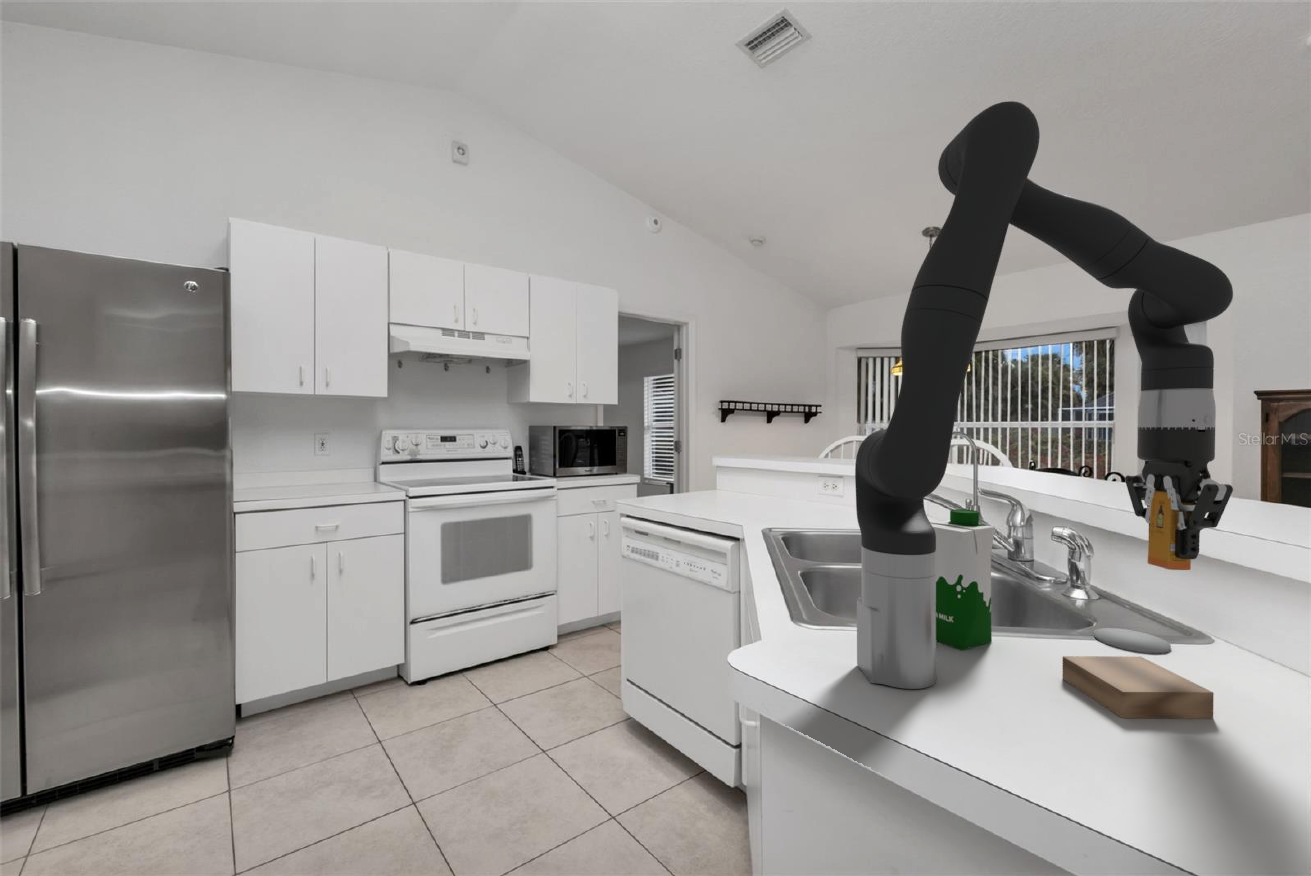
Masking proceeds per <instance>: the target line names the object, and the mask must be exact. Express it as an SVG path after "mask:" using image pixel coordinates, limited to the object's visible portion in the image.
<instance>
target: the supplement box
mask: <svg viewBox="0 0 1311 876" xmlns="http://www.w3.org/2000/svg"><path fill="white" fill-rule="evenodd" d="M1171 495H1172V494H1171ZM1182 504H1183V505H1192V504H1193V502H1192V503H1182ZM1186 514H1187V519H1190V517H1191V516H1190V513H1189V512H1188V511H1187V512H1186ZM1175 530H1179V529H1178V528H1177V526H1176V520H1175V513H1174V512H1173V511H1172V510H1171V498H1170V497H1169V499H1168V494H1167V492H1163V491H1155V493H1154V497H1153V499H1152V501H1151V514H1150V530H1149V529H1148V540H1149V542H1148V548H1147V550H1148V551H1147V564H1149V565H1150V566H1151V565H1152V566H1156V567H1159V568H1163V569H1165V570H1172V571H1190V570H1191V569H1192V567H1191V565H1192V564H1191V563H1192V559H1180V558H1177V557H1176V556H1175Z"/></svg>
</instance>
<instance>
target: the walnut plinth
mask: <svg viewBox="0 0 1311 876" xmlns="http://www.w3.org/2000/svg"><path fill="white" fill-rule="evenodd" d="M1062 680H1064V681H1065V682H1066V683H1068V684H1070V685H1071V686H1073V687H1075V688H1076V689H1077V690H1079V691H1080V692H1083V694H1086V695H1087V696H1088V697H1090V698H1092V699H1093V700H1095V701H1096V702H1097V703H1099V704H1100V705H1102V706H1103V707H1105V708H1107V709H1108V710H1110V711H1111V712H1113V713H1114V714H1116V715H1117V716H1119V717H1121V718H1122V719H1204V720H1205V719H1211V720H1212V719H1213V720H1214V692H1213V691H1211V690H1209V689H1207V688H1205V687H1203V686H1201V685H1199V684H1198V683H1195V682H1193V681H1191V680H1189V679H1187V678H1185V677H1183V676H1181V675H1179V674H1177V673H1175V672H1173V671H1171V670H1169V669H1167V668H1165V667H1163V666H1161V665H1159V664H1156V662H1153V661H1151V660H1148V659H1147V658H1145V657H1142V656H1119V655H1118V656H1115V655H1114V656H1108V655H1107V656H1105V655H1104V656H1099V655H1098V656H1090V655H1089V656H1087V655H1086V656H1085V655H1083V656H1082V655H1081V656H1080V655H1079V656H1075V655H1074V656H1073V655H1072V656H1069V655H1063V656H1062Z"/></svg>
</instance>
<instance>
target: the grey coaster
mask: <svg viewBox="0 0 1311 876" xmlns="http://www.w3.org/2000/svg"><path fill="white" fill-rule="evenodd" d="M1094 636H1096V638H1097V639H1098V640H1097V639H1096V638H1095V639H1096V640H1097V641H1099V642H1100V643H1103V644H1106V645H1108V646H1111V647H1114V648H1116V649H1117V648H1118V649H1121V650H1126V651H1131V652H1137V653H1143V654H1165V653H1169V652H1171V650H1172V645H1171V643H1169V642H1168V641H1167V640H1165V639H1163V638H1161V637H1159V636H1155V635H1152V634H1149V633H1145V632H1141V631H1137V630H1131V629H1125V628H1118V627H1117V628H1115V627H1113V628H1112V627H1105V628H1104V627H1102V628H1097V629H1095V630H1094V631H1093V637H1094Z"/></svg>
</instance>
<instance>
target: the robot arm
mask: <svg viewBox="0 0 1311 876" xmlns="http://www.w3.org/2000/svg"><path fill="white" fill-rule="evenodd" d="M1040 136H1041V135H1040V126H1039V123H1038V120H1037V118H1036V115H1035V113H1034V112H1033V111H1032V110H1031V109H1030V107H1028V106H1027V105H1026V104H1024V103H1022V102H1020V101H1014V100H1005V101H1000V102H997V103H995V104H992V105H991V106H988V107H987V108H985V109H984V110H982V111H980V112H979V113H978V114H976V116H974V117H973V118H972V119H971V120H970V121H969V122H967V124H966V126H964V127H963V128H962V129H961V130H960V131H959V133H958V134H957V135H956V136H954V137H953V139H952V140H951V141H949V143H948V144H947V145H946V146H945V147H944V149H943V151H942V152H941V155H940V157H939V160H938V166H937V170H938V171H937V172H938V176H939V180H940V182H941V183H942V185H943V187H944V188H945V189H946V190H947V192H949V193H950V194H952V195H953V196H954V199H953V202H952V205H951V208H950V210H949V213H948V215H947V218H946V220H945V222H944V224H943V225H942V227H941V229H940V230H939V232H938V234H937V236H936V238H935V240H934V241H933V243H932V245H931V246H930V248H929V250H928V252H927V254H926V256H925V258H924V259H923V262H922V264H921V266H920V268H919V270H918V271H917V272H918V273H917V274H916V277H915V279H914V282H913V285H912V288H911V290H910V294H909V298H908V301H907V305H906V308H905V312H904V315H903V320H902V325H901V332H900V334H901V335H900V352H901V353H900V354H901V356H900V357H901V382H900V388H899V393H898V397H897V400H896V403H895V405H894V406H895V407H894V409H893V412H892V415H891V417H890V420H889V423H888V426H887V428H884V429H883V428H882V429H879V430H876V431H874V432H872V433H870V434H868V436H866V437H865V438H864V439H863V441H862V442H861V443H860V445H859V447H858V450H857V453H856V456H855V468H854V470H855V471H854V474H855V475H854V477H855V506H856V508H855V509H856V519H857V525H858V527H859V531H860V537H861V538H860V539H861V540H860V541H861V596H859V597H857V598H856V664H857V666H858V668H859V669H860V670H861V671H862V673H863V674H864V675H865V677H866V678H867V679H868V680H869V682H870V683H871V684H882V685H886V686H889V687H893V688H896V689H897V688H898V689H904V690H905V689H906V690H916V689H917V690H918V689H925V688H930V687H931V686H933V685H934V684H936V682H937V663H938V662H937V641H936V533H935V530H934V528H933V526H932V525H931V523H930V522H931V521H930V519H929V518H928V516H927V513H926V510H925V509H926V508H925V501H924V500H925V499H924V498H925V497H928V496H929V495H930V494H932V493H933V492H934V491H935V490H936V489H937V488H938V486H939V485H940V483H941V482H942V480H943V478H944V476H945V473H946V470H947V466H948V462H949V455H950V451H951V446H952V445H951V443H952V438H953V434H954V426H955V420H956V415H957V409H958V404H959V400H960V397H961V393H962V389H963V385H964V383H965V379H966V376H967V373H968V371H969V370H968V369H969V367H970V363H971V359H972V355H973V352H974V348H975V345H976V341H977V340H978V339H977V338H978V336H979V334H980V331H981V327H982V323H983V320H984V316H985V313H986V309H987V306H988V302H989V300H990V296H991V292H992V287H993V286H992V285H993V283H994V279H995V275H996V271H997V269H998V265H999V262H1000V259H1001V255H1002V251H1003V249H1004V248H1003V247H1004V245H1005V244H1004V243H1005V240H1006V235H1007V232H1008V228H1009V225H1012V226H1013V227H1015V228H1017V229H1019V230H1021V231H1023V232H1024V233H1026V234H1028V235H1030V236H1032V237H1034V238H1035V239H1037V240H1039V241H1041V242H1043V243H1044V244H1046V245H1047V246H1049V247H1051V248H1052V249H1054V250H1055V251H1057V252H1058V253H1060V254H1061V255H1062V256H1064V257H1065V258H1067V259H1068V260H1070V261H1071V262H1072V263H1074V264H1075V265H1076V266H1077V267H1079V268H1080V269H1082V271H1085V273H1087V274H1088V275H1090V276H1091V277H1092V278H1094V279H1095V280H1096V281H1098V282H1099V283H1100V284H1102V285H1104V286H1106V287H1108V288H1111V289H1116V290H1117V289H1118V290H1120V289H1121V290H1122V289H1134V290H1135V291H1134V292H1133V293H1132V296H1131V298H1130V300H1129V304H1128V307H1127V309H1128V310H1127V318H1128V323H1129V326H1130V330H1131V333H1132V334H1131V335H1132V337H1133V340H1134V344H1135V348H1136V349H1137V350H1136V351H1137V353H1138V354H1139V358H1140V361H1141V368H1140V369H1141V370H1140V397H1139V400H1138V407H1137V408H1138V409H1137V446H1136V447H1137V449H1136V450H1137V451H1136V455H1137V456H1136V457H1137V458H1138V459H1139V460H1141V461H1144V465H1143V468H1142V470H1141V473H1139V474H1136V475H1126V476H1125V478H1124V481H1125V484H1126V485H1125V486H1126V489H1127V492H1128V495H1129V498H1130V502H1131V505H1132V508H1133V511H1134V514H1135V516H1136V517H1139V518H1140V517H1141V518H1143V519H1144V520H1145V522H1146V523H1147V524H1148V531H1149V530H1150V514H1151V501H1152V499H1153V497H1154V493H1155V491H1163V492H1167V494H1168V499H1169V497H1170V498H1171V510H1172V511H1173V512H1174V513H1175V520H1176V526H1177V528H1178V529H1179V530H1175V556H1176V557H1177V558H1180V559H1191V560H1196V559H1197V558H1198V555H1199V554H1200V535H1201V531H1202V530H1204V529H1211V528H1214V529H1215V528H1217V527H1218V525H1219V523H1220V520H1221V518H1222V516H1223V514H1224V512H1225V509H1226V507H1227V505H1228V503H1229V501H1230V498H1231V496H1232V494H1233V491H1234V487H1233V486H1232V485H1231V484H1228V483H1225V484H1224V483H1219V482H1217V481H1215V479H1214V480H1213V479H1212V477H1211V473H1210V471H1209V469H1208V464H1209V463H1210V462H1213V461H1214V460H1215V459H1216V457H1215V456H1216V416H1217V415H1216V411H1217V410H1216V408H1217V407H1216V400H1215V393H1214V367H1215V364H1214V363H1215V359H1214V352H1213V350H1212V348H1210V346H1208V345H1205V344H1202V343H1191V342H1190V341H1189V339H1188V337H1187V336H1188V335H1187V334H1186V329H1185V326H1187V325H1193V324H1198V323H1203V322H1206V321H1209V320H1212V319H1215V318H1216V317H1219V316H1220V315H1222V314H1223V313H1224V312H1225V311H1226V310H1227V309H1228V308H1229V307H1230V305H1231V303H1232V301H1233V296H1234V290H1233V289H1234V288H1233V285H1232V283H1231V281H1230V278H1229V277H1228V276H1227V274H1225V273H1224V271H1223V270H1221V269H1220V268H1219V267H1217V266H1216V265H1215V264H1213V263H1211V262H1210V261H1207V260H1206V259H1203V258H1201V257H1198V256H1197V255H1194V254H1192V253H1189V252H1186V251H1183V250H1181V249H1179V248H1176V247H1173V246H1171V245H1167V244H1164V243H1161V242H1158V241H1156V240H1155V239H1153V238H1152V236H1150V235H1149V234H1147V232H1145V231H1143V230H1142V229H1141V228H1139V227H1138V226H1137V225H1135V224H1134V223H1133V222H1131V221H1130V220H1128V219H1127V218H1126V217H1125V216H1123V215H1121V214H1119V213H1118V212H1117V211H1115V210H1113V209H1110V208H1108V207H1106V206H1104V205H1100V204H1097V203H1095V202H1091V201H1088V200H1084V199H1081V198H1077V197H1073V196H1069V195H1065V194H1063V193H1059V192H1056V191H1053V190H1051V189H1049V188H1046V187H1044V186H1042V185H1040V184H1038V183H1036V182H1035V181H1033V180H1032V179H1030V178H1029V173H1030V171H1031V170H1032V166H1033V164H1034V163H1035V162H1034V161H1035V159H1036V156H1037V153H1038V150H1039V146H1040ZM1171 494H1172V495H1171ZM1143 501H1144V503H1143ZM1192 502H1193V504H1192V505H1183V504H1182V503H1192ZM1144 505H1145V506H1146V507H1144ZM1187 511H1188V512H1189V513H1190V516H1191V517H1190V519H1187V514H1186V512H1187ZM1147 542H1148V543H1149V539H1147Z"/></svg>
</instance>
